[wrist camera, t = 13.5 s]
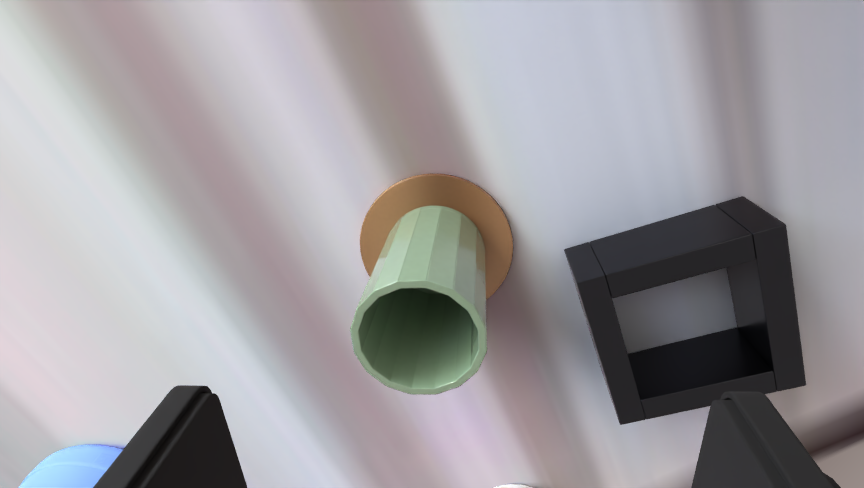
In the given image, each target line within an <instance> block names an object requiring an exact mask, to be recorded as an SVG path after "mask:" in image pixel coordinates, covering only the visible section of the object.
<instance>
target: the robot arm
mask: <svg viewBox="0 0 864 488" xmlns="http://www.w3.org/2000/svg"><path fill="white" fill-rule="evenodd" d="M93 488H247V485H246V482H245V479H244V475H243V472H242V469H241V466H240V463H239V460H238V457H237V453H236V450H235V447H234V444H233V441H232V438H231V435H230V432H229V428H228V425H227V422H226V419H225V416H224V413H223V410H222V406H221V403H220V400H219V398H218V396H217V395H216V394H212V392H211V390H210V389H209V388H208V387H207V386H176V387H174V388H173V389H172V390H171V391H170V392H169V393H168V394H167V396H166V397H165V398H164V399H163V401H162V402H161V403H160V404H159V406H158V407H157V408H156V409H155V411H154V412H153V413H152V414H151V416H150V417H149V418H148V419H147V421H146V422H145V423H144V424H143V426H142V427H141V428H140V429H139V431H138V432H137V433H136V434H135V436H134V437H133V438H132V439H131V441H130V442H129V443H128V444H127V446H126V447H125V448H124V449H123V451H122V452H121V453H120V454H119V456H118V457H117V458H116V459H115V461H114V462H113V463H112V464H111V466H110V467H109V468H108V469H107V471H106V472H105V473H104V474H103V476H102V477H101V478H100V479H99V481H98V482H97V483H96V484H95V486H94V487H93ZM692 488H841V487H840V486H839V485H838V484H837V483H836V482H835V481H834V480H833V479H832V478H831V477H829V476H828V475H826V474H824V473H823V472H822V471H821V470H820V468H819V467H818V465H817V464H816V463H815V461H814V460H813V459H812V457H811V456H810V454H809V453H808V452H807V450H806V449H805V448H804V446H803V445H802V444H801V442H800V441H799V440H798V438H797V437H796V435H795V434H794V433H793V431H792V430H791V429H790V427H789V426H788V425H787V423H786V422H785V421H784V419H783V418H782V416H781V415H780V414H779V412H778V411H777V410H776V408H775V407H774V406H773V404H772V403H771V402H770V400H769V399H768V398H767V397H766V396H765V395H764V394H763V393H761V392H732V391H728V392H724V393H723V394H722V396H721V398H720V400H713V401H712V403H711V406H710V411H709V415H708V419H707V424H706V428H705V432H704V436H703V441H702V445H701V449H700V454H699V458H698V462H697V466H696V471H695V475H694V479H693V483H692Z"/></svg>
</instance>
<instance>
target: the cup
mask: <svg viewBox="0 0 864 488" xmlns="http://www.w3.org/2000/svg"><path fill="white" fill-rule="evenodd" d="M350 332H351V338H352V344H353V350H354V353H355V355H356V356H357V358H358V359H359V361H360V362H361V364H362V365H363V367H364V368H365V370H366V371H367V372H368V373H369V374H370V375H372V376H373V377H374V378H376V379H377V380H378V381H380V382H381V383H383V384H384V385H385V386H387V387H390V388H393V389H396V390H399V391H402V392H405V393H408V394H439V393H442V392H445V391H448V390H451V389H454V388H457V387H459V386H461V385H462V384H463V383H465V382H466V381H467V380H468V379H469V378H470V377H472V376H473V375H474V374H475V373H476V372H477V371H478V370H479V367H480V365H481V363H482V361H483V359H484V357H485V355H486V352H487V319H486V270H485V245H484V241H483V238H482V235H481V233H480V231H479V230H478V228H477V227H476V225H475V224H474V223H473V222H472V221H471V220H470V219H469V218H468V217H467V216H465V215H464V214H462V213H461V212H459V211H457V210H454V209H452V208H448V207H444V206H424V207H420V208H417V209H414V210H412V211H410V212H408V213H407V214H405V215H404V216H402V217H401V218H400V219H399V220H398V221H397V223H396V224H395V225H394V227H393V228H392V230H391V231H390V233H389V235H388V237H387V240H386V242H385V244H384V247H383V249H382V251H381V254H380V256H379V258H378V261H377V263H376V265H375V267H374V270H373V272H372V274H371V277H370V279H369V281H368V284H367V286H366V288H365V291H364V293H363V295H362V298H361V300H360V302H359V304H358V307H357V309H356V312H355V316H354V319H353V322H352V325H351V328H350Z"/></svg>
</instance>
